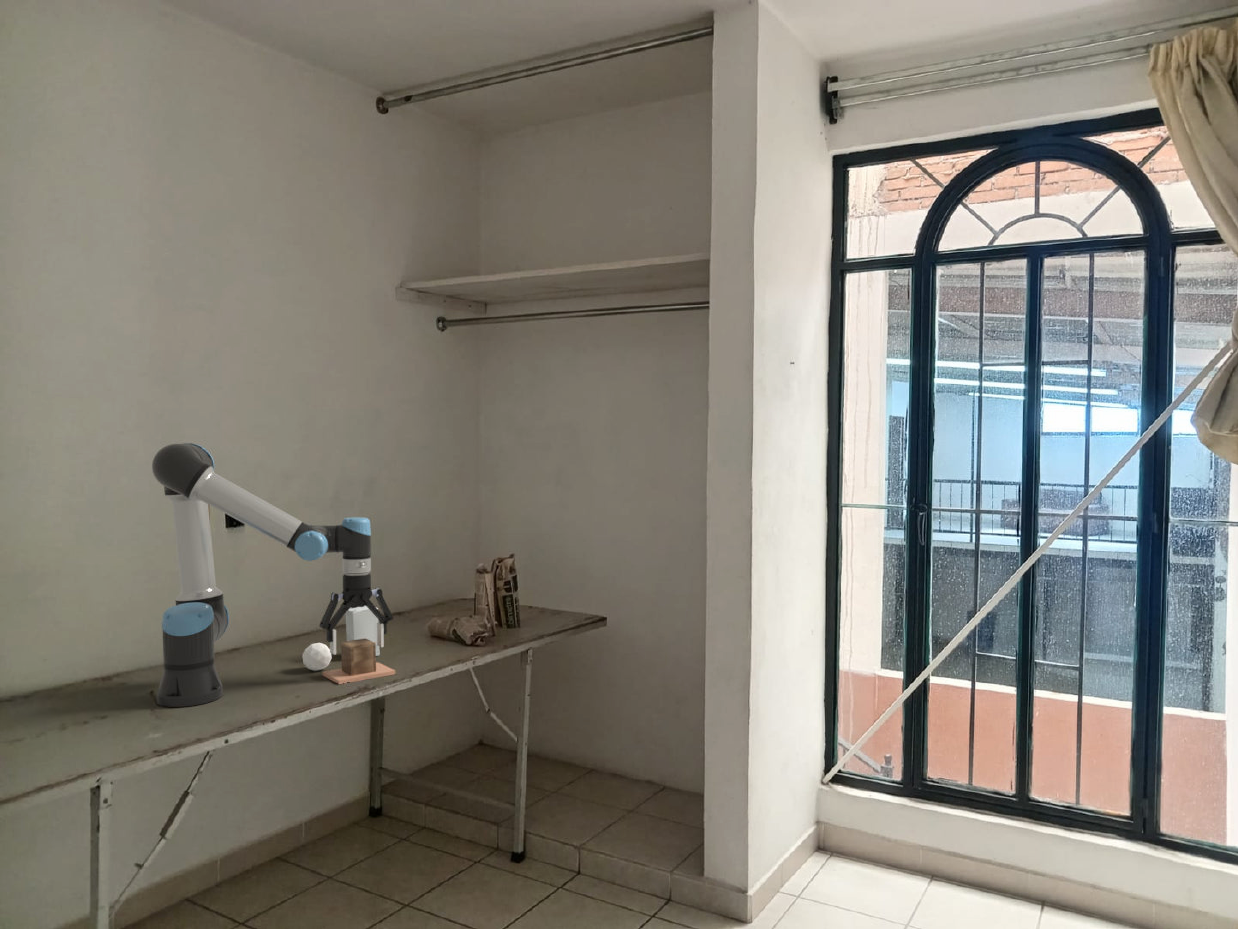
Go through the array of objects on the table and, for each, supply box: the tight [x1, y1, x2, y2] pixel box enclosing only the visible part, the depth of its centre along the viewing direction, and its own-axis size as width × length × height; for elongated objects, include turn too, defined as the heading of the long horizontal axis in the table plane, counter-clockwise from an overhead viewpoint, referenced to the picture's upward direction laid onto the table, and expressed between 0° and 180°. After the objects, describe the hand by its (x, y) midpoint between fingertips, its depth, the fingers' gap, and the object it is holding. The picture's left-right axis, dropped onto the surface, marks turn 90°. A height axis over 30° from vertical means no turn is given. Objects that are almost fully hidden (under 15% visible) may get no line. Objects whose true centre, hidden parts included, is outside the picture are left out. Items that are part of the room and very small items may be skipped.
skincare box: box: [345, 606, 381, 657], centre depth 271 cm, size 8×6×15 cm
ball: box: [301, 642, 332, 672], centre depth 256 cm, size 8×8×8 cm
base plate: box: [322, 661, 396, 685], centre depth 251 cm, size 16×12×1 cm
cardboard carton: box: [340, 638, 377, 676], centre depth 250 cm, size 7×7×8 cm
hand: (357, 650), depth 250 cm, fingers open, 13 cm apart
